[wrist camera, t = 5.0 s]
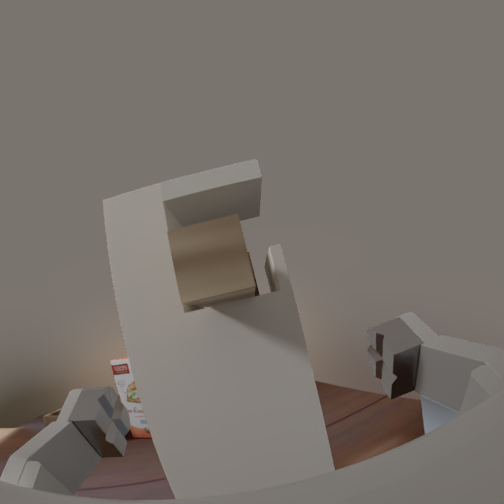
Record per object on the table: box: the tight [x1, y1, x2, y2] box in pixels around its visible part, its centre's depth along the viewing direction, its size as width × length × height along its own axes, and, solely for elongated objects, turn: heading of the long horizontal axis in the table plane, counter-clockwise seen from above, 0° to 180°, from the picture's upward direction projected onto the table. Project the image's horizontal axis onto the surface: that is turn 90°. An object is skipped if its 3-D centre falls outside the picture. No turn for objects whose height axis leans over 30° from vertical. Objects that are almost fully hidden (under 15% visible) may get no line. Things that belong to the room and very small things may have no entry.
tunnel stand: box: [103, 159, 335, 499], centre depth 24 cm, size 10×12×36 cm
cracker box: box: [110, 356, 152, 438], centre depth 67 cm, size 14×6×21 cm, turn 76°
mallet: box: [167, 214, 259, 307], centre depth 22 cm, size 18×4×4 cm, turn 0°
